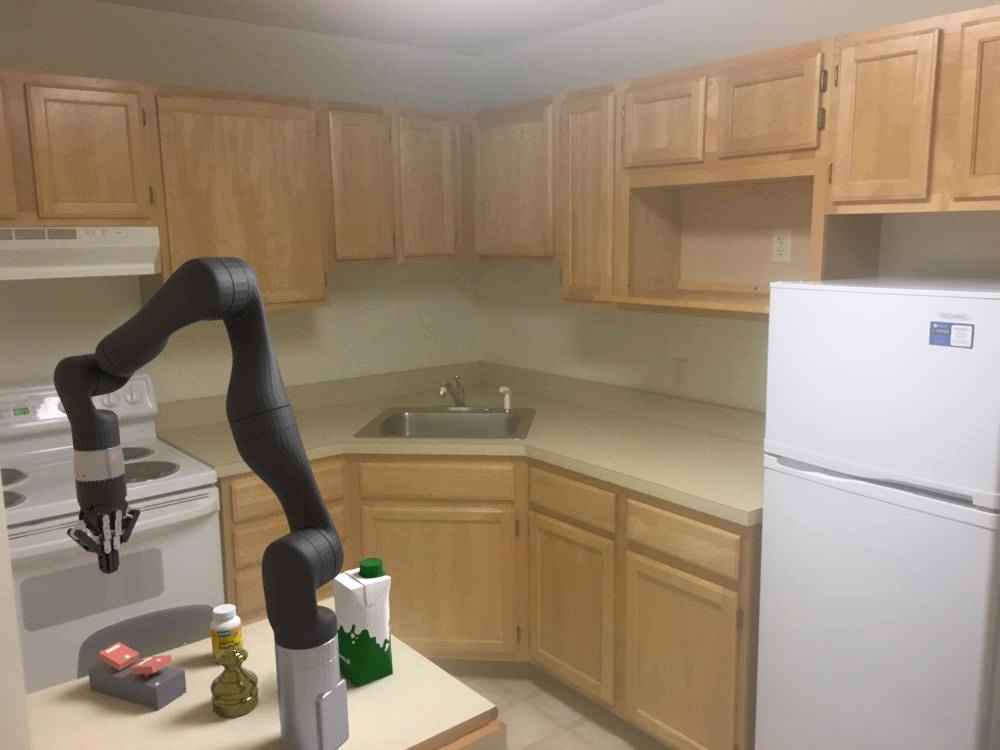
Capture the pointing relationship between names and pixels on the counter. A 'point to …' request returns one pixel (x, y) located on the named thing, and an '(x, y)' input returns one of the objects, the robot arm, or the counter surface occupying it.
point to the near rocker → (151, 665)
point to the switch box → (138, 684)
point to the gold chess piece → (234, 685)
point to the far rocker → (118, 656)
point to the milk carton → (363, 622)
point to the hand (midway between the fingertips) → (110, 571)
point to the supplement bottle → (225, 629)
